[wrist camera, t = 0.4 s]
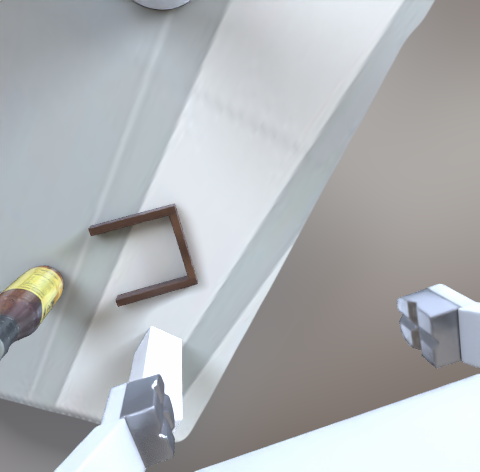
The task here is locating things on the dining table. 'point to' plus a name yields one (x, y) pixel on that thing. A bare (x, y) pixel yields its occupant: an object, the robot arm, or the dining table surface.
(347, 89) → the dining table surface
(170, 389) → the milk
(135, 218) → the bottle bay
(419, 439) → the robot arm
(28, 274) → the sauce bottle
